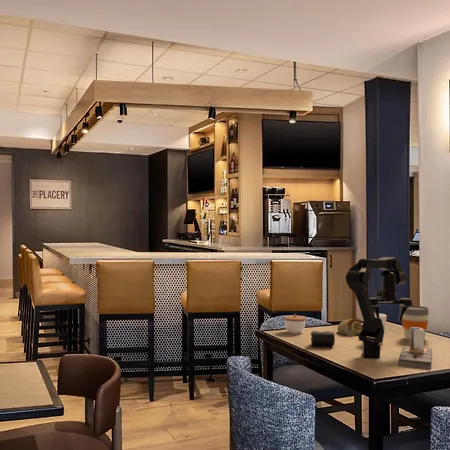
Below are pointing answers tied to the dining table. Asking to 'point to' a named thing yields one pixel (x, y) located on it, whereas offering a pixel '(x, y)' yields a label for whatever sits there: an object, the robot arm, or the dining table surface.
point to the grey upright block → (417, 339)
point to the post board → (415, 357)
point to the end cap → (322, 339)
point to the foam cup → (383, 318)
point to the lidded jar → (294, 323)
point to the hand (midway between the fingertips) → (388, 321)
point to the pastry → (350, 327)
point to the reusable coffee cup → (415, 319)
